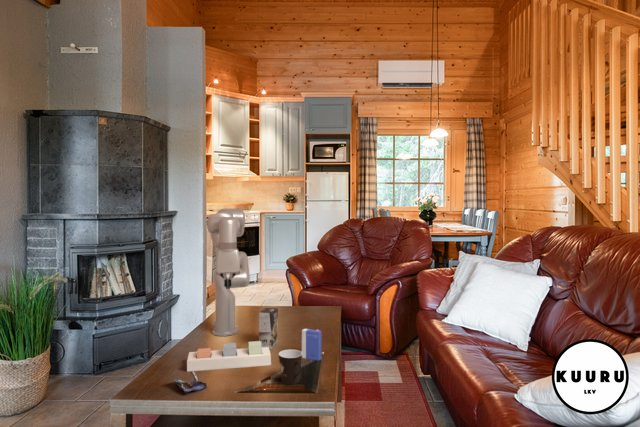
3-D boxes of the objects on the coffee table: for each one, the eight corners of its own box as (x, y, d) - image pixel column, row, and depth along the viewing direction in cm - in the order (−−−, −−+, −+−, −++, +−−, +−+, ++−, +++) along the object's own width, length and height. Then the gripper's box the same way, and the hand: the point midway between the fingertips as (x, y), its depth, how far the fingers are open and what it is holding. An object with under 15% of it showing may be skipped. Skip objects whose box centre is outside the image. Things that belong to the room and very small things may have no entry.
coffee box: (272, 349, 190) (272, 313, 189) (258, 348, 191) (258, 312, 190) (278, 342, 199) (278, 307, 198) (265, 341, 200) (265, 307, 199)
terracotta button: (197, 365, 168) (197, 353, 168) (197, 360, 173) (197, 348, 173) (210, 364, 169) (210, 352, 169) (210, 359, 174) (210, 347, 174)
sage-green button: (248, 357, 172) (248, 345, 172) (248, 353, 177) (248, 341, 177) (261, 356, 173) (261, 345, 173) (260, 352, 178) (260, 341, 178)
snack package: (204, 379, 159) (170, 383, 155) (204, 363, 158) (171, 366, 154) (207, 399, 148) (171, 403, 144) (208, 382, 147) (171, 386, 143)
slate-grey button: (223, 359, 170) (223, 347, 170) (223, 355, 175) (223, 343, 175) (236, 358, 171) (236, 346, 171) (236, 354, 176) (236, 342, 176)
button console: (187, 371, 165) (187, 361, 165) (189, 361, 175) (189, 352, 175) (270, 365, 172) (270, 355, 171) (268, 356, 181) (268, 346, 181)
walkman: (321, 358, 179) (321, 329, 179) (318, 360, 177) (318, 331, 176) (304, 355, 182) (304, 327, 182) (301, 357, 180) (301, 329, 179)
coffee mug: (278, 376, 161) (278, 349, 161) (301, 375, 162) (301, 349, 161) (278, 389, 150) (278, 361, 149) (303, 389, 150) (303, 360, 150)
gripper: (209, 247, 182) (209, 290, 183) (245, 247, 185) (245, 289, 186) (210, 245, 190) (210, 287, 190) (244, 245, 193) (245, 286, 193)
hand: (227, 288), depth 188 cm, fingers closed
